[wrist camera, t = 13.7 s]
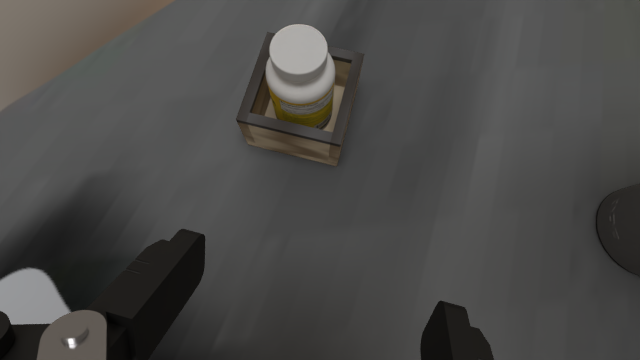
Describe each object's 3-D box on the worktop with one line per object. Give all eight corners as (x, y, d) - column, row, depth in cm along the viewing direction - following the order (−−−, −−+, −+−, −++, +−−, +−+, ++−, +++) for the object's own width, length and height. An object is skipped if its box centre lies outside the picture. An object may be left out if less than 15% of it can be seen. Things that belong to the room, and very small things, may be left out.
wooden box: (357, 87, 40) (364, 53, 34) (336, 166, 38) (340, 144, 32) (274, 67, 41) (267, 32, 35) (248, 144, 38) (235, 119, 32)
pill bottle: (282, 83, 39) (269, 9, 29) (336, 92, 39) (343, 21, 28) (269, 133, 37) (251, 74, 27) (326, 143, 37) (329, 88, 27)
